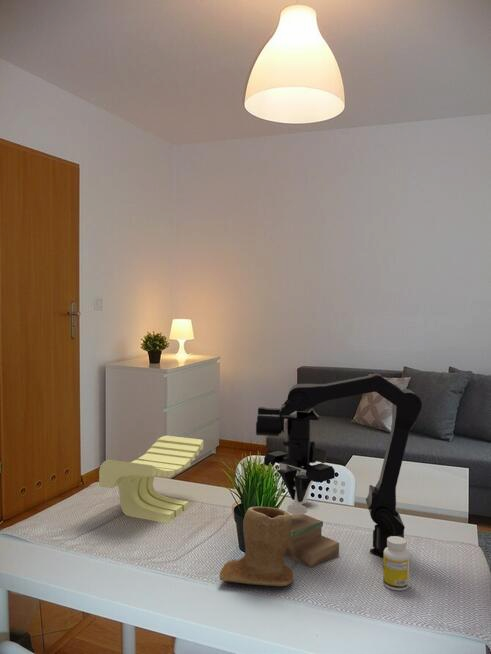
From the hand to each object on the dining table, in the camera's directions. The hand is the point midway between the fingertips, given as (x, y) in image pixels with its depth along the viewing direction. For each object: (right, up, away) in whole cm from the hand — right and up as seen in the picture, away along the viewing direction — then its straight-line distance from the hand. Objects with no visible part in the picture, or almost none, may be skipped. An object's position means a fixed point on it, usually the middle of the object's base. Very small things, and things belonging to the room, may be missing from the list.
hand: (297, 500), depth 138 cm
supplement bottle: (+19, -13, -17) cm, 29 cm away
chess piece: (0, -3, 0) cm, 3 cm away
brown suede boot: (-10, -12, -15) cm, 22 cm away
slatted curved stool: (-38, -10, +23) cm, 46 cm away
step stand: (+1, -12, -2) cm, 12 cm away
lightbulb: (+4, -11, +31) cm, 33 cm away
